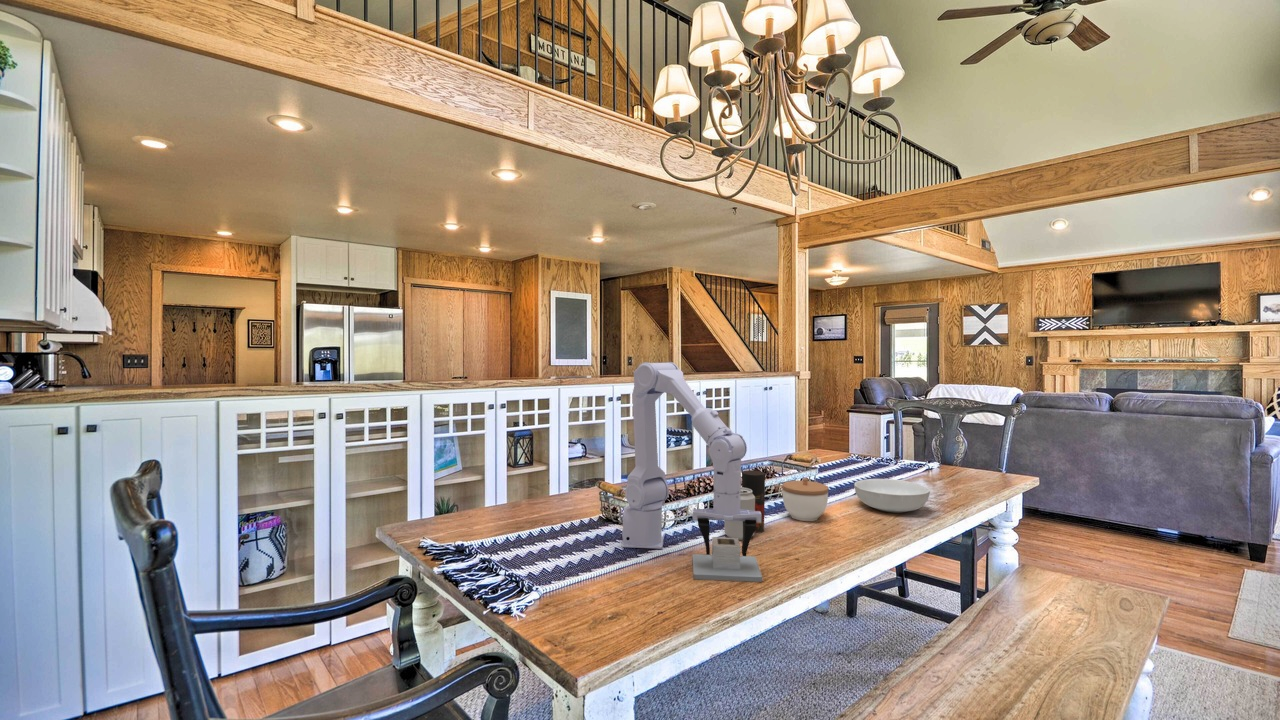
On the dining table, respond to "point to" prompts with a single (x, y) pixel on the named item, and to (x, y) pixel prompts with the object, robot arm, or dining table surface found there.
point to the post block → (706, 572)
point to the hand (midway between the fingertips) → (725, 553)
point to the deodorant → (756, 492)
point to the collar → (725, 553)
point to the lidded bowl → (805, 499)
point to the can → (746, 503)
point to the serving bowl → (892, 494)
